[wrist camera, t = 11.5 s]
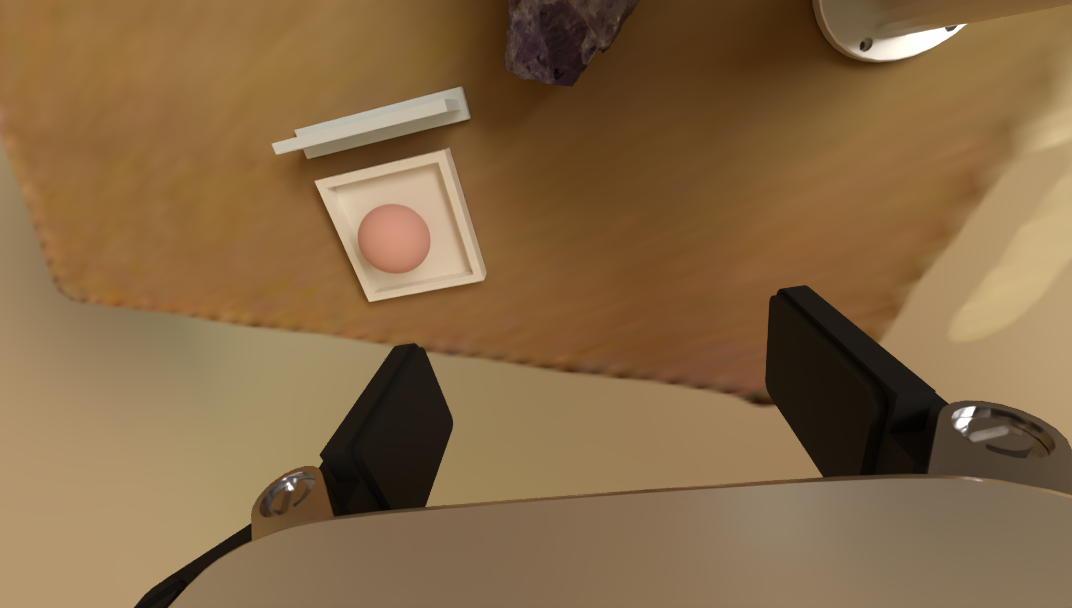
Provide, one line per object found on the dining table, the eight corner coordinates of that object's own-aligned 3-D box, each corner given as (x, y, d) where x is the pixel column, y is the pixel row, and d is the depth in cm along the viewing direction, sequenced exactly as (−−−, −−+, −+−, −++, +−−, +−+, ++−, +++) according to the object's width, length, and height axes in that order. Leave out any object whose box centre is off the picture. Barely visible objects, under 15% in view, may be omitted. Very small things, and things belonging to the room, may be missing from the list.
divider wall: (462, 86, 33) (447, 84, 28) (470, 118, 34) (457, 121, 29) (298, 129, 35) (260, 134, 30) (311, 158, 36) (275, 166, 31)
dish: (449, 147, 35) (444, 149, 33) (486, 273, 40) (483, 280, 38) (325, 177, 37) (314, 181, 35) (376, 294, 42) (369, 301, 40)
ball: (426, 190, 36) (400, 207, 31) (447, 253, 39) (427, 278, 33) (366, 203, 37) (331, 222, 32) (390, 263, 40) (362, 290, 34)
